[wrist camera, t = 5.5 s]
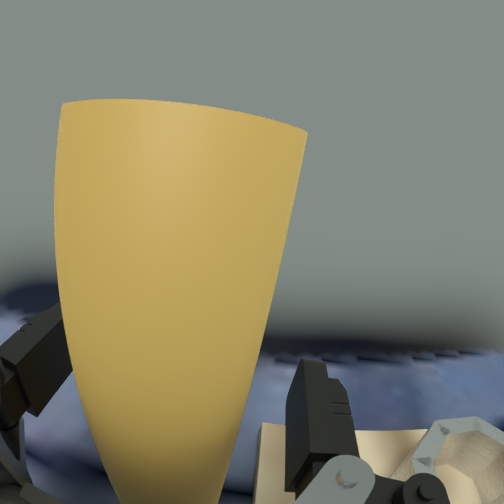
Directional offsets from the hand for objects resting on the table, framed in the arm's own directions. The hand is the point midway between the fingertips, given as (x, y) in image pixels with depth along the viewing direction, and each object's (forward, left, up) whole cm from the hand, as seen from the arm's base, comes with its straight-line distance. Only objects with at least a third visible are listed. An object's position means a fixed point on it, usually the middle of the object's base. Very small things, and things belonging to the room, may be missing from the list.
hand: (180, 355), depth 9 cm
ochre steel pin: (0, -2, -9) cm, 9 cm away
